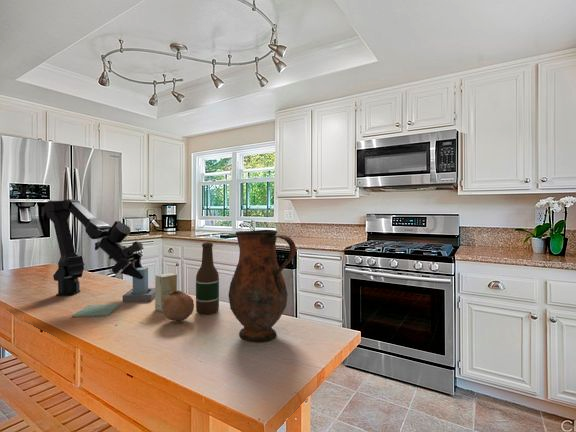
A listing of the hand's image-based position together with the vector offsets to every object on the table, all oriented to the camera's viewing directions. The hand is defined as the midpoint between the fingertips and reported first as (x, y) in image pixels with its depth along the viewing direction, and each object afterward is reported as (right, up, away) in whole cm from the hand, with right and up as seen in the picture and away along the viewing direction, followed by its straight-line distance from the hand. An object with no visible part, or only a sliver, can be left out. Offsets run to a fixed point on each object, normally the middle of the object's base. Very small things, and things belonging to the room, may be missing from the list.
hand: (144, 277), depth 127 cm
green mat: (-9, -9, -16) cm, 20 cm away
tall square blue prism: (-1, -7, 0) cm, 7 cm away
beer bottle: (+29, -9, -16) cm, 35 cm away
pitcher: (+50, -10, -37) cm, 63 cm away
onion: (+23, -9, -26) cm, 36 cm away
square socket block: (-1, -8, 0) cm, 8 cm away
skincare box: (+14, -9, -13) cm, 21 cm away
